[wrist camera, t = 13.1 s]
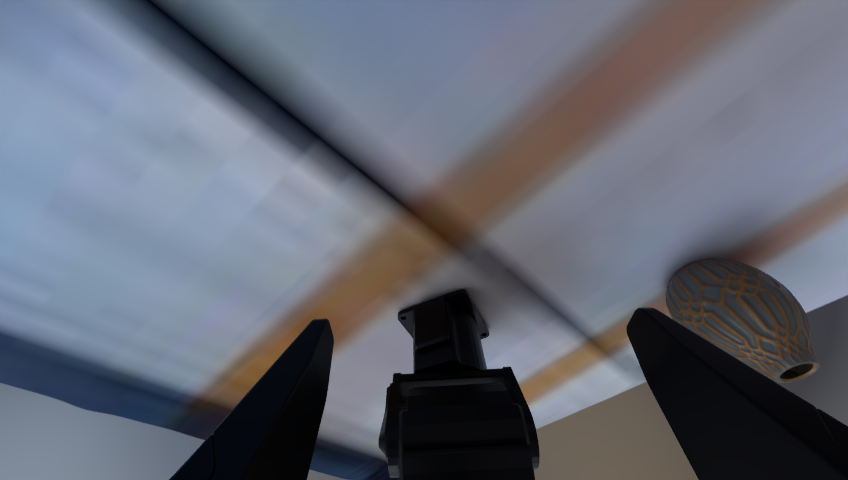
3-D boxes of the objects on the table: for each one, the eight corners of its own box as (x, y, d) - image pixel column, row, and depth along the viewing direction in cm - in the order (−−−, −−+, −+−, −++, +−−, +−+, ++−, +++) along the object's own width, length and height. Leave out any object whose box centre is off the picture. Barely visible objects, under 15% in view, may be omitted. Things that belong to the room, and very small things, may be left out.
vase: (648, 264, 26) (741, 360, 18) (743, 232, 24) (885, 322, 17) (652, 315, 29) (731, 411, 22) (735, 290, 28) (849, 384, 21)
